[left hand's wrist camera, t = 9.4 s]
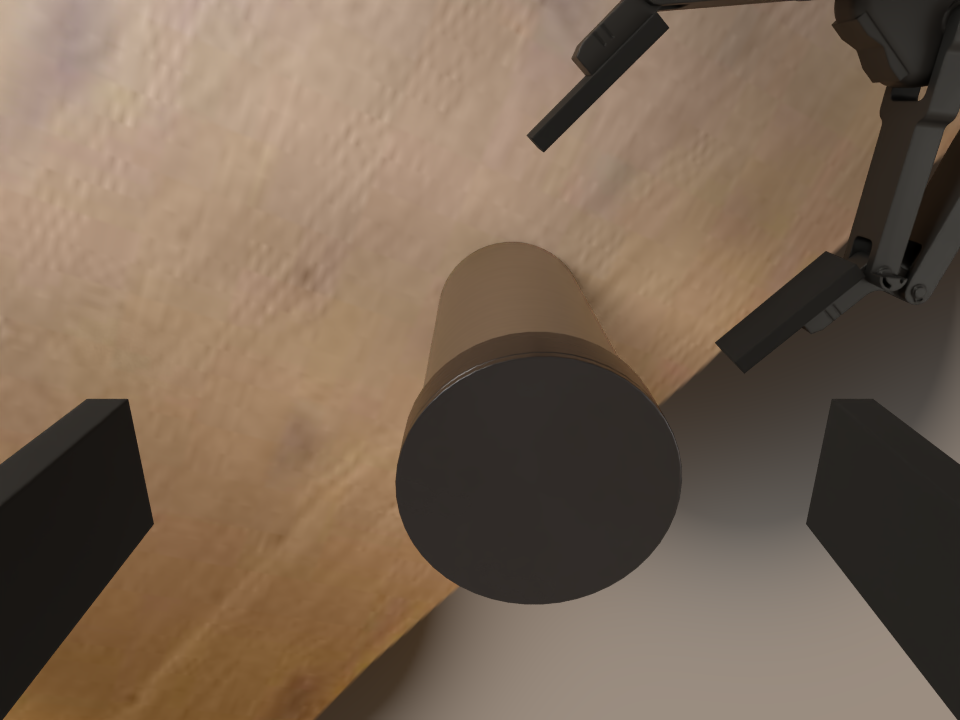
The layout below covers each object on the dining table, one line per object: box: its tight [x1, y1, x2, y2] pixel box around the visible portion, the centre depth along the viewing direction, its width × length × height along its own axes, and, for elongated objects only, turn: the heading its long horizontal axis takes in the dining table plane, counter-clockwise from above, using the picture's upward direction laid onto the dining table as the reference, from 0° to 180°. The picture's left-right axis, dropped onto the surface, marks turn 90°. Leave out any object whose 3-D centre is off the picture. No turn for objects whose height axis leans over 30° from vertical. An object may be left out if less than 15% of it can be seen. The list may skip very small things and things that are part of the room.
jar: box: [423, 242, 618, 388], centre depth 29 cm, size 8×8×18 cm
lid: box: [396, 332, 682, 604], centre depth 22 cm, size 9×9×2 cm
